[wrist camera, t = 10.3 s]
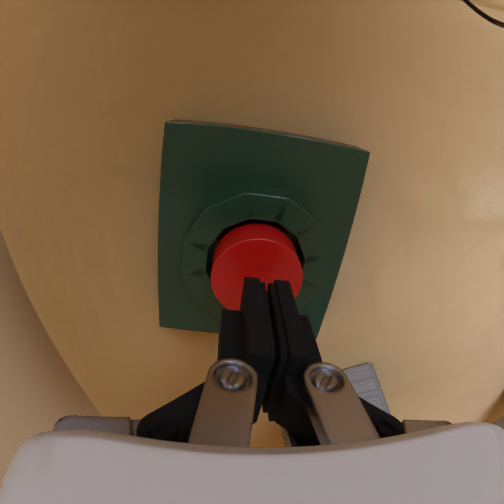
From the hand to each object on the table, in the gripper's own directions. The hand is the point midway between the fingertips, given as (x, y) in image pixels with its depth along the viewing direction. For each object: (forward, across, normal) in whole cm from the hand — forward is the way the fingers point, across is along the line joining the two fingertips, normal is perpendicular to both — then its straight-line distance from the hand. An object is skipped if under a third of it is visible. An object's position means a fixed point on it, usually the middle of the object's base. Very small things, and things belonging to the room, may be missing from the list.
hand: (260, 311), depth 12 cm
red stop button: (+4, 0, 0) cm, 4 cm away
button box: (+7, 0, 0) cm, 7 cm away
